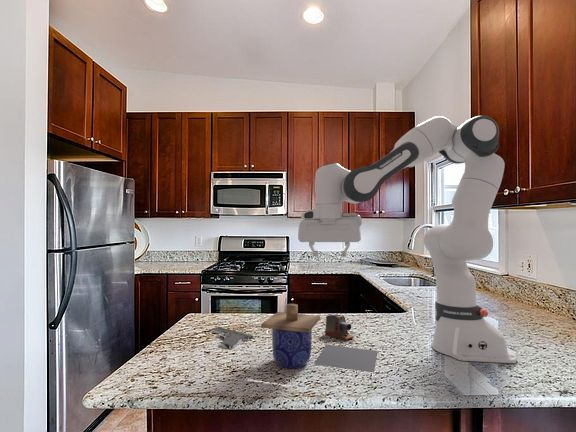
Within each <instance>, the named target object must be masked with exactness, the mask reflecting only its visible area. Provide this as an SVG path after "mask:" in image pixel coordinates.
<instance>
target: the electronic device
mask: <svg viewBox="0 0 576 432" xmlns="http://www.w3.org/2000/svg"><path fill="white" fill-rule="evenodd" d="M325 321H326V322H325V331H324V335H325V336H328V337H331V338H334V339H338V340H341V341H344V342H346V341H348V340H352V339H354V338H355V336H354V335H352V334H350V333H349V331H350V330H351V329H352V324H350V323H347V320H346V316H345V315H341V314H340V315H339V314H330V315H326V317H325Z"/></svg>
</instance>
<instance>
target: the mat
mask: <svg viewBox="0 0 576 432" xmlns="http://www.w3.org/2000/svg"><path fill="white" fill-rule="evenodd" d="M378 352H379V351H378V350H374V349H366V348H359V347H358V348H357V347H356V348H355V347H349V346H342V345H331V344H325V345H324V347H323V349H322V350H321V352H320V353H319V355H318V356H317V358H316V360H315V361H314V363H313V364H314V365H316V366H323V367H324V366H325V367H332V368H339V369H345V370H346V369H347V370H355V371H361V372H367V373H368V372H370V373H375V369H376V364H377V359H378V358H377V357H378Z"/></svg>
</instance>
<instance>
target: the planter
mask: <svg viewBox="0 0 576 432" xmlns="http://www.w3.org/2000/svg"><path fill="white" fill-rule="evenodd" d="M271 330H272V331H271V347H272V348H271V349H272V355H273V356H272V357H273V359H274V361H275V363H276V364H277V365H278V366H280V367H281V368H284V369H291V370H293V369H300V368H303V367H304V366H306V365H307V364H308V362H309V360H310V358H311V353H312V344H313V342H312V340H313V339H312V337H313V336H312V334H313V333H312V330H311V331H310V332H309V333H308V332H298V331H288V330H279V329H271Z"/></svg>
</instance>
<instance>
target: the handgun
mask: <svg viewBox="0 0 576 432" xmlns="http://www.w3.org/2000/svg"><path fill="white" fill-rule="evenodd" d="M211 333H215V334H217V338H218V339H223V341H221V342H220V347H222V348H226V349H228V350H234V349H236V348H237V347H238V345H239V344H240V343H242V342H243V341H244V342H245V341H246V342H249V341H250V340H252V339H254V335H253V334H249V333H245V332H243V331H242V332H241V331H239V330H234V329H230V328H225V327H221V326H216V327H213V328H211Z"/></svg>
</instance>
